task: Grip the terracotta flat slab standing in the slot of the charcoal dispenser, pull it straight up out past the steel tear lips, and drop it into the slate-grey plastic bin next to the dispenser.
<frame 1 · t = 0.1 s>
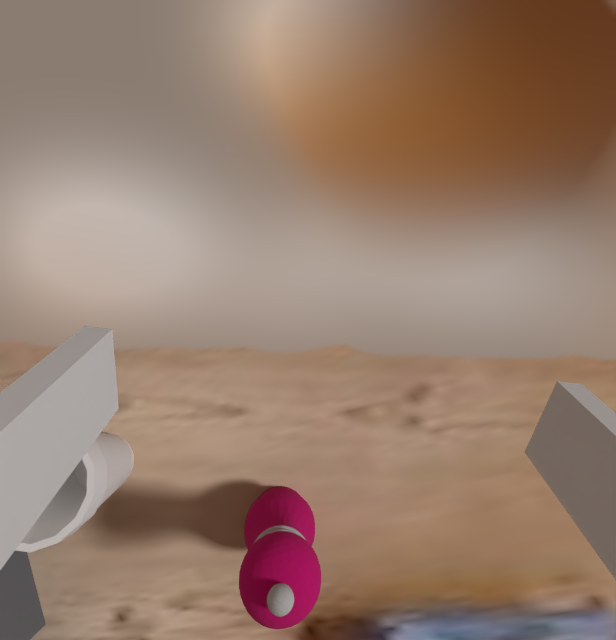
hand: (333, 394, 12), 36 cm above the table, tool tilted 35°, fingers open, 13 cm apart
pepper mill: (279, 515, 44), on the table
foam cup: (105, 462, 44), on the table
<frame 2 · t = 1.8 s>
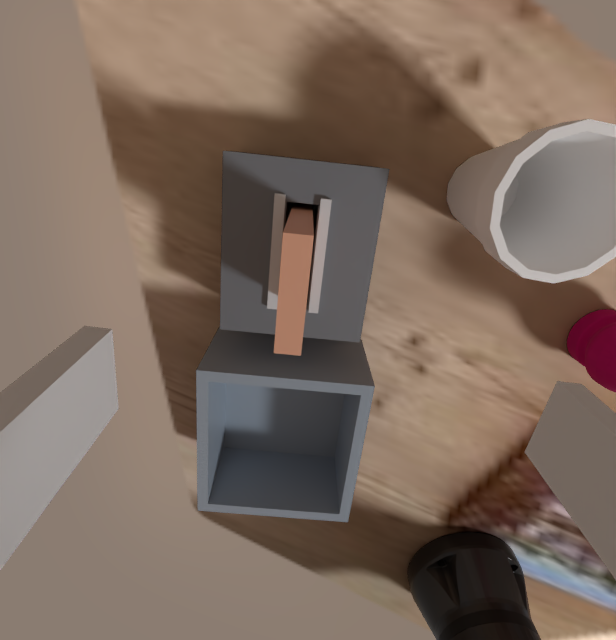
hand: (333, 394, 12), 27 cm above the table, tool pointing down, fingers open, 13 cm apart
pepper mill: (595, 335, 41), on the table
foam cup: (480, 190, 35), on the table
dispenser: (299, 238, 37), on the table
bin: (284, 397, 44), on the table
terracotta flat slab: (299, 242, 35), point 2 cm above the table, touching dispenser
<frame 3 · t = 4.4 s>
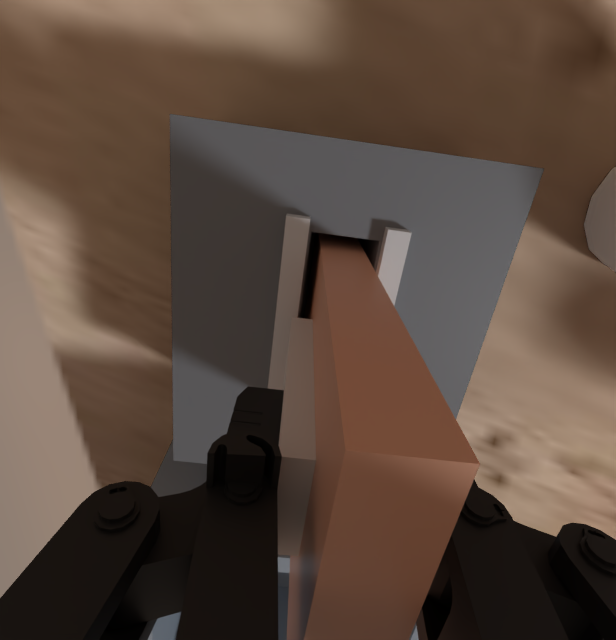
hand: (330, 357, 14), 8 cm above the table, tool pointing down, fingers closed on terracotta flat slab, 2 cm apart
dispenser: (322, 282, 21), on the table
bin: (286, 512, 29), on the table
terracotta flat slab: (323, 294, 20), point 2 cm above the table, touching dispenser, gripper
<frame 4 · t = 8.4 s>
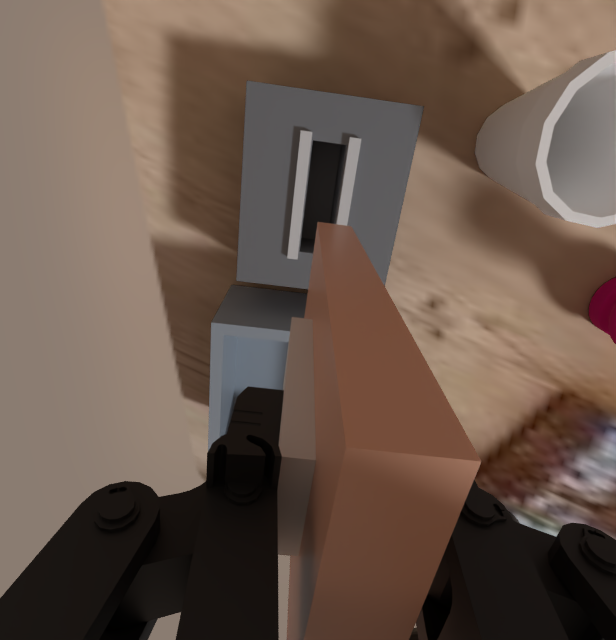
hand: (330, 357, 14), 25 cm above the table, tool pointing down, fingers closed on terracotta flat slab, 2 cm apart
foam cup: (510, 142, 34), on the table
dispenser: (319, 190, 35), on the table
bin: (296, 361, 43), on the table
terracotta flat slab: (323, 293, 20), point 18 cm above the table, touching gripper
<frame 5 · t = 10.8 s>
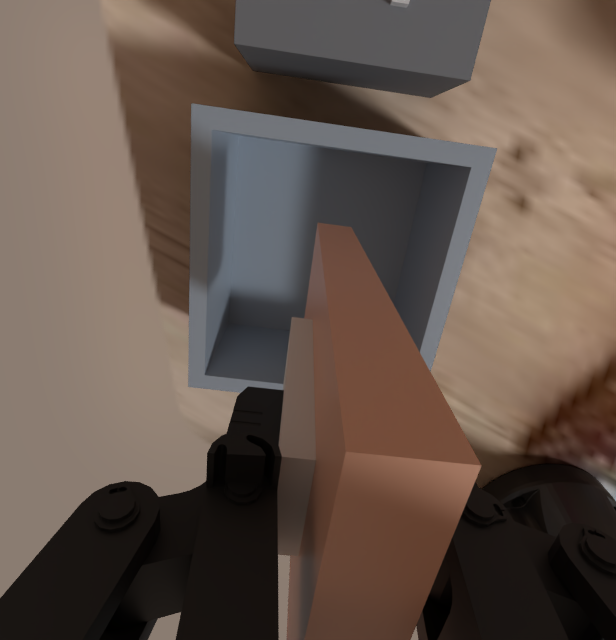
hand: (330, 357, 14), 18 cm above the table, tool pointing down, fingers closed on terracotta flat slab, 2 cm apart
bin: (319, 246, 30), on the table
terracotta flat slab: (323, 294, 20), point 11 cm above the table, touching gripper
when the fingers open (10 cm above the table, at t = 12.7 s): terracotta flat slab drops 3 cm, resting on bin.
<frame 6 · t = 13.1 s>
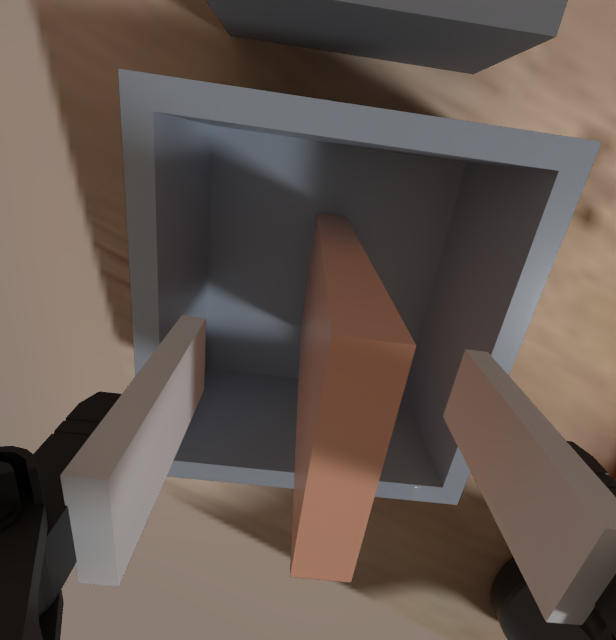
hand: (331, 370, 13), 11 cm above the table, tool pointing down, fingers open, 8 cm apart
bin: (321, 271, 23), on the table
terracotta flat slab: (321, 276, 22), point 1 cm above the table, touching bin
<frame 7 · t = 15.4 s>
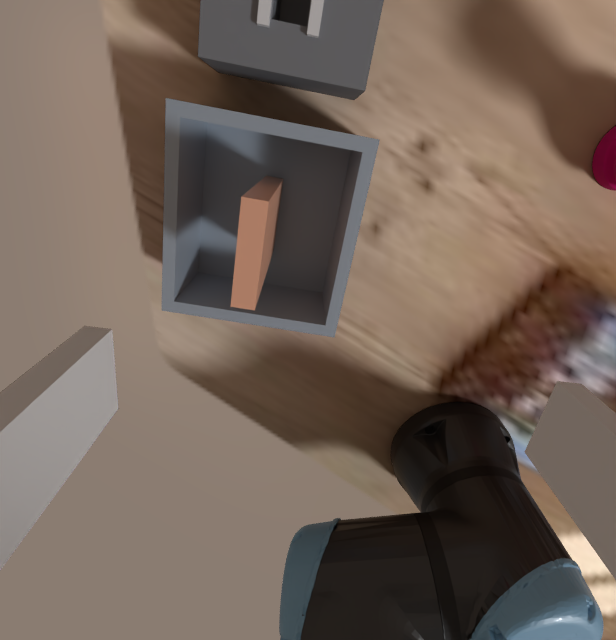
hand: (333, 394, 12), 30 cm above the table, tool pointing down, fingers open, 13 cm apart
bin: (270, 213, 38), on the table
terracotta flat slab: (269, 215, 38), point 1 cm above the table, touching bin
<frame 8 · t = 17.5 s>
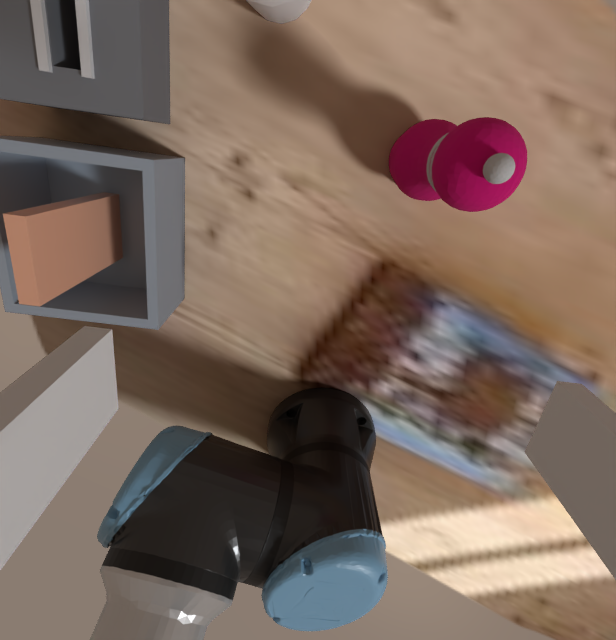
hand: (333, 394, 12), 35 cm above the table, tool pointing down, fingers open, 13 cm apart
pepper mill: (417, 160, 41), on the table
dispenser: (105, 32, 37), on the table
bin: (117, 224, 44), on the table
terracotta flat slab: (113, 226, 43), point 1 cm above the table, touching bin
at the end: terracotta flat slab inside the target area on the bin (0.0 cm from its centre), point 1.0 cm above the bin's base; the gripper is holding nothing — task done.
